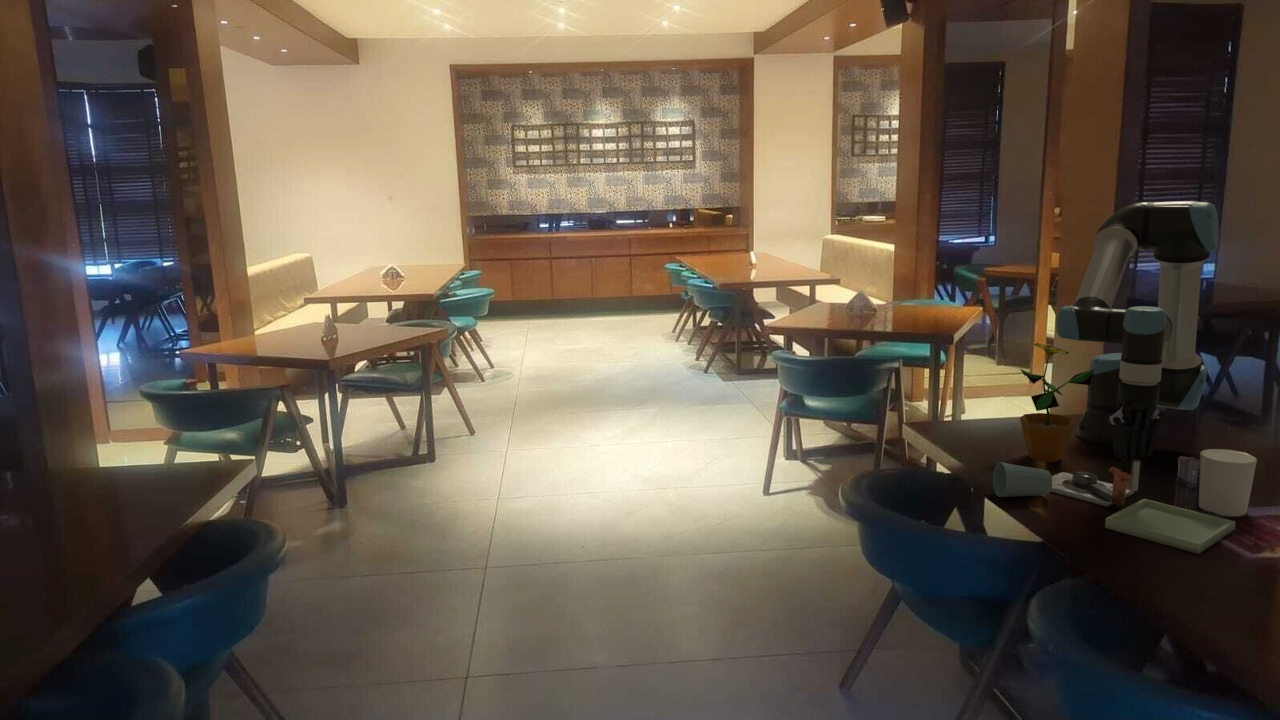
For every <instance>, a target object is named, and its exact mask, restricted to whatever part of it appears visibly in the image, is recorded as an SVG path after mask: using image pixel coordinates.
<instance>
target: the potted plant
mask: <svg viewBox="0 0 1280 720" xmlns="http://www.w3.org/2000/svg"><path fill="white" fill-rule="evenodd" d="M1033 346H1035V347H1038V348H1041V349H1042V350H1043V351H1044V352H1045V354H1047V355H1048V356H1047V360H1046V364H1045V367H1044V371H1043V372H1044V373H1043V375H1041V374H1034V373H1031V372H1029V371H1026V370H1024V369H1022V368H1019V370H1020V372H1021V373H1022V374H1023V376H1025V377H1027V379H1028V380H1029V381H1030V382H1031V383H1032V384H1033V385H1035V384H1036V383H1037V382H1039V381H1040V380H1041V382H1042V389H1043V393H1039V394H1035V395H1031V396H1030V398H1031V400H1032V403H1033V405H1034V408H1035V410H1036V412H1035V413H1024V414H1023V415H1021V416H1020V418H1019V421H1020V424H1021V429H1022V434H1023V437H1024V438H1023V439H1024V442H1025V447H1026V450H1027V455H1028V457H1029V458H1030V459H1032V460H1034V461H1039V462H1042V463H1043V462H1045V463H1046V462H1047V463H1048V462H1049V463H1051V462H1052V463H1056V462H1058V461H1061V460H1062V456H1063V454H1064V451H1065V449H1066V446H1067V443H1068V440H1069V439H1070V435H1071V433H1072V431H1073V429H1074V425H1075V421H1074V420H1073V418H1072V417H1067V416H1064V415H1060V414H1058V413H1057V414H1055V413H1050V409H1053V408H1057V407H1060V404H1059V402H1058V400H1057V397H1056V395H1055V393H1057V394H1059V395H1060V396H1063V397H1064V395H1063V394H1062V393H1061V392H1060V389H1061V388H1063V387H1064V386H1065V385H1066V384H1076V385H1083V386H1088V385H1090V382H1091V379H1092V375H1093V372H1094V369H1092V370H1089V369H1088V370H1086V371H1084V372H1080V373H1078V374H1074V375H1073V376H1072V377H1071V378H1070V379H1069V380H1068V381H1066V382H1064V383H1063V384H1061V385H1060V386H1058V387H1056V386H1055V385H1053V384H1052V383H1050V382H1048V381H1047V379H1046V375H1047V374H1046V373H1047V368H1048V364H1049V359H1050V356H1051V355H1054V354H1057V353H1059V354H1061V355H1062V354H1063V355H1068V354H1069V353H1070V352H1068V351H1066V350H1063V349H1061V348H1058V347H1055V346H1051V345H1046V344H1041V343H1034V344H1033ZM1046 387H1047V389H1046ZM1043 410H1046V412H1045V413H1044V412H1040V411H1043Z"/></svg>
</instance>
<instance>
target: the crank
mask: <svg viewBox="0 0 1280 720" xmlns="http://www.w3.org/2000/svg"><path fill="white" fill-rule="evenodd" d="M1108 471H1109V473H1110V475H1113V481H1112V482H1113V483H1112V484H1113V491H1112V490H1110V489H1108V488H1106V487H1104V486H1102V485H1100V484H1098V483H1097V480H1098V481H1099V479H1098V477H1099V475H1097V474H1095V473H1093V472H1088V471H1074V472H1073V473H1072V474H1073V478H1072V485H1073V486H1075V487H1078V488H1082V489H1087V490H1089V491H1091V492H1093V493H1095V494H1097V495H1099V496H1101V497H1103V498H1105V499H1107V500H1109V501H1111V502H1112V503H1114V504H1115V505H1118V506H1119V505H1125V502H1126V501H1125V500H1126V498H1125V493H1126V481H1131V480H1132V475H1131V474H1129V473H1127V472H1124V471H1122V469H1120V468H1117V467H1115V466H1111V467H1110V468H1109V469H1108ZM1114 504H1113V505H1114Z"/></svg>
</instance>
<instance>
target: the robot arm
mask: <svg viewBox="0 0 1280 720" xmlns="http://www.w3.org/2000/svg"><path fill="white" fill-rule="evenodd" d="M1218 216H1219V215H1218V211H1217V209H1216V206H1215V205H1214V203H1211V202H1208V201H1194V200H1189V201H1188V200H1187V201H1153V202H1151V201H1142V202H1136V203H1133V204H1129V205H1126V206H1125V207H1122V208H1120V209H1119V210H1116V212H1115V213H1113V214H1112V215H1110V216H1109V217H1108V218H1107V219H1106V220H1104V222H1103V223H1102V224H1101V225H1100V227H1099V228H1098V230H1097V231H1096V234H1095V236H1094V239H1093V247H1094V251H1093V254H1092V256H1091V259H1090V261H1089V264H1088V267H1087V270H1086V272H1085V275H1084V277H1083V280H1082V283H1081V286H1080V288H1079V290H1078V293H1077V295H1076V297H1075V301H1074V303H1073V305H1063V306H1061V307H1060V309H1059V310H1058V313H1057V317H1056V333H1057V335H1058V337H1059V338H1061V339H1064V340H1065V339H1066V340H1072V341H1081V342H1083V341H1085V342H1097V343H1111V344H1121V352H1113V353H1105V354H1100V355H1096V356H1094V357H1093V358H1092V359H1091V360H1090V363H1089V369H1088V371H1089V370H1092V369H1094V372H1093V375H1092V379H1091V382H1090V385H1087V394H1086V396H1087V397H1086V408H1085V410H1084V413H1083V415H1082V417H1081V420H1080V421H1079V423H1078V426H1077V432H1076V435H1077V437H1078V438H1080V439H1082V440H1083V441H1087V442H1089V443H1090V442H1091V443H1093V444H1100V445H1108V446H1112V449H1113V454H1114V456H1115V457H1117V458H1120V459H1122V461H1121V463H1122V464H1121V470H1122V471H1124V472H1127V473H1129V474H1131V475H1132V480H1131V481H1126V489H1128V490H1130V491H1134V492H1137V491H1139V479H1140V475H1141V473H1142V466H1143V462H1146V461H1148V458H1149V457H1151V456H1152V454H1153V451H1154V447H1155V444H1156V441H1157V439H1158V434H1159V431H1160V429H1161V424H1162V423H1163V421H1164V420H1165V417H1166V416H1167V415H1166V412H1164V411H1161V410H1159V409H1157V407H1159V408H1166V409H1174V410H1190V411H1191V410H1195V409H1196V408H1197V407H1198V406H1199V404H1200V401H1201V397H1202V394H1203V392H1204V391H1203V390H1204V387H1205V382H1206V379H1207V375H1208V370H1209V367H1208V366H1206V365H1204V364H1202V362H1203V360H1202V357H1201V356H1200V355H1198V354H1197V353H1196V343H1197V333H1198V332H1197V331H1198V319H1199V318H1198V317H1199V304H1200V294H1201V293H1200V291H1201V280H1202V279H1201V277H1202V267H1203V264H1204V263H1205V262H1206V261H1208V260H1209V259H1210V258H1211V257H1210V256H1211V253H1213V252H1216V251H1217V250H1218V248H1219V235H1220V231H1219V230H1220V228H1219V218H1218ZM1137 250H1138V251H1140V250H1144V251H1153V259H1154V260H1155V261H1156V262H1157V263H1159V265H1160V266H1159V268H1160V269H1159V282H1158V283H1159V284H1158V298H1157V299H1158V303H1157V306H1145V305H1144V306H1142V305H1141V306H1140V305H1137V306H1131V307H1128V308H1127V309H1125V308H1124V309H1123V308H1113V307H1112V306H1113V304H1114V302H1115V298H1116V295H1117V293H1118V290H1119V287H1120V285H1121V281H1122V278H1123V275H1124V273H1125V269H1126V266H1127V264H1128V261H1129V258H1130V257H1132V256H1133V255H1134V254H1135V253H1136V251H1137ZM1146 457H1148V458H1146Z"/></svg>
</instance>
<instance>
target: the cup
mask: <svg viewBox="0 0 1280 720" xmlns="http://www.w3.org/2000/svg"><path fill="white" fill-rule="evenodd" d="M992 479H993V480H992V482H993V483H992V484H993V491H994V493H995V495H996V496H997V497H999V498H1006V497H1007V498H1008V497H1029V496H1030V497H1033V496H1035V497H1038V496H1048V495H1049V494H1050V493H1051V492H1050V491H1051V488H1052V474H1051V472H1050V471H1049V470H1047V469H1042V468H1037V467H1030V466H1023V465H1017V464H1012V463H1007V462H1006V463H1005V462H1001V461H1000V462H997V464H996V465H995V467H994V470H993V477H992Z"/></svg>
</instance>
